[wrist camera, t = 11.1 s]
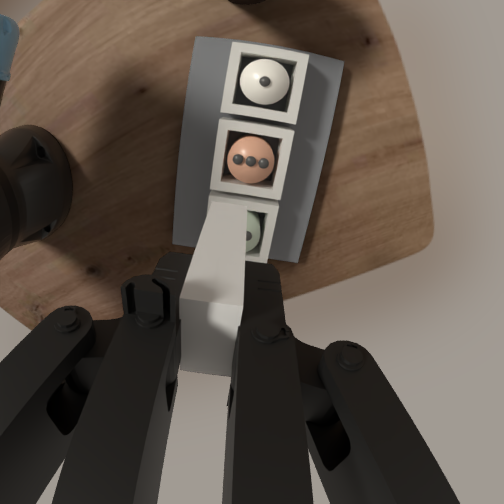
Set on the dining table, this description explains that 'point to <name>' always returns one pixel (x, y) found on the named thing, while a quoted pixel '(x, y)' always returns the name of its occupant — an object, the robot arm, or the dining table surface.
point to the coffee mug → (246, 1)
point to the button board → (259, 123)
